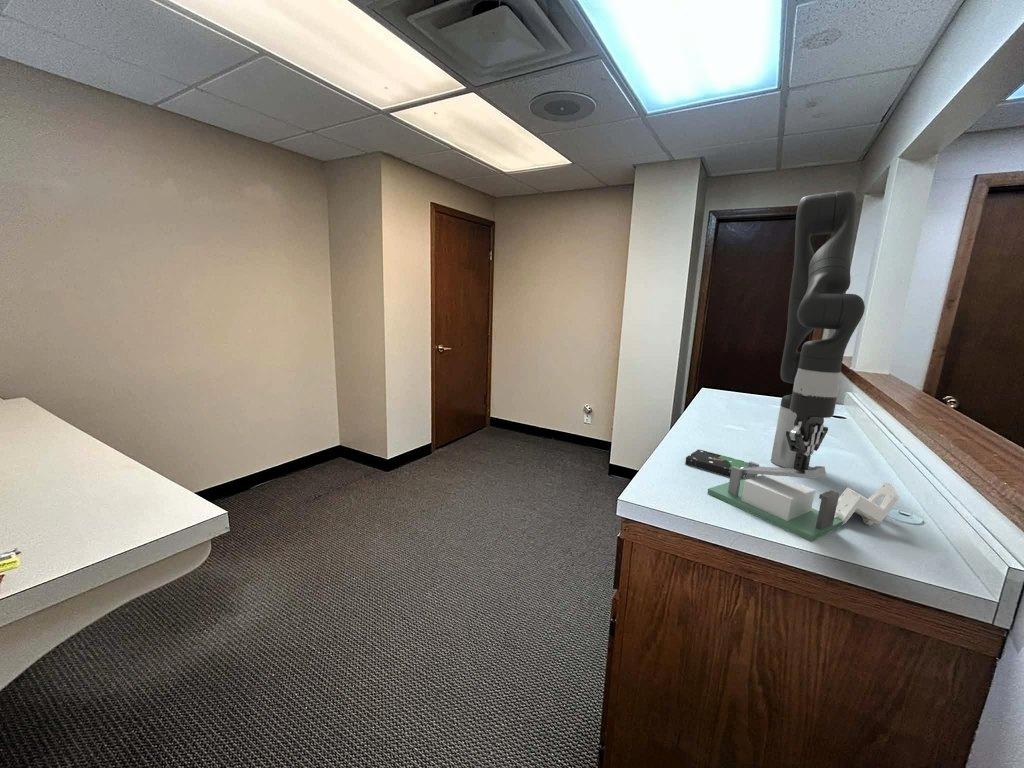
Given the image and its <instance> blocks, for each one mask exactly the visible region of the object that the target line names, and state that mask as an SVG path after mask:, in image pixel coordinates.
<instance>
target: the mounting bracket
mask: <svg viewBox="0 0 1024 768" xmlns="http://www.w3.org/2000/svg"><path fill="white" fill-rule="evenodd" d="M882 498H883V500H882V502H881V503H880V504H879V505H878V504H877V503H878V501H880V500H881V499H882ZM899 499H900V495H899V494H898V492H897V491H896V489H895V488H894V486H893V485H892V483H890V482H888V481H886V482H884V483H883V484H882V485H881V486H880V487H879V488H878V489H876V491H875V492H874V493H873V494H872V495H871V496H870V497H869V498H867V497H865V496H863V495H861V494H860V493H858V492H856V491H855V490H853V489H851V488H850V487H847V488H845V489H844V491H843V492H842V493H841V495H839V498H838V503H837V507H836V512H835V516H834V517H835V518H838V519H840V520H842V521H843V524H842V525H844V524H845V523H847V522H848V521H849V520H850V518H851V517H852V516H853V514H854V513H856V514H857V515H859V516H860V517H862V520H863V523H864V524H866V525H867V526H870V527H871V526H873V524H875V523H876V524H877V525H878V524H881V522H883V520H884V519H885V517H887V515H888V514H889V512H890V511H891V510H892V508H893V507H894V506H895V505H896V503H898V501H899Z"/></svg>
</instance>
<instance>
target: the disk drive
mask: <svg viewBox="0 0 1024 768" xmlns="http://www.w3.org/2000/svg"><path fill="white" fill-rule="evenodd" d="M684 464H685V465H688V466H690V467H693V468H697V469H699V470H700V469H701V470H704V471H708V472H710V471H711V473H714V474H718V475H722V476H724V477H728V478H730V475H731V469H732V467H733V466H735V467H738V468H741V467H745V466H748V464H749V461H748V462H747V461H744V460H742V459H736V458H733V457H730V456H729V457H728V456H725V455H722V454H718V453H715V452H712V451H707V450H703V449H697V450H695V451H694V452H692V453H691V454H690V455H687V456H686V457H685V461H684ZM746 476H747V473H742V475H741V480H743V478H744V477H746Z"/></svg>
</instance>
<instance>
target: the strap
mask: <svg viewBox="0 0 1024 768" xmlns="http://www.w3.org/2000/svg"><path fill="white" fill-rule="evenodd" d="M741 469H742V473H748V474H758V475H775V476H779V477H790V478H804V479H817V478H820V477H823V476H825V475H826V474H827V472H826V466H821V465H816V466H813V467H810V468H809V467H808V469H806V470H805V472H800V471H797V470H795V469H794V468H785V467H772V466H760V465H759V466H752V465H748V466H745V467H741Z"/></svg>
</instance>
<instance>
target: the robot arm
mask: <svg viewBox="0 0 1024 768" xmlns="http://www.w3.org/2000/svg"><path fill="white" fill-rule="evenodd" d="M856 212H857V197H856V195H855V193H854V192H853V191H851V190H839V191H830V192H823V193H814V194H811V195H805V196H803V197H802V198H801V199H800V200H799V203H798V205H797V210H796V218H795V236H794V257H793V258H794V259H793V260H794V261H793V269H792V277H791V284H790V290H789V301H788V310H787V311H788V312H787V326H786V327H787V328H786V329H787V330H786V336H785V342H784V347H783V348H784V349H783V354H782V358H781V364H780V379H781V380H782V381H783V382H784V383H787V384H793V388H792V392H791V394H787V395H783V396H782V397H781V400H780V406H779V410H778V411H779V412H778V415H777V416H778V417H777V423H776V429H775V435H774V440H773V446H772V451H771V455H770V456H771V457H770V461H771V462H772V463H773V464H775V465H777V466H779V467H781V468H794V469H795V470H797V471H800V472H805V470H806V469H809V467H810V461H811V457H812V455H814V453H815V451H816V452H817V451H818V450H819V448H820V447H821V444H822V443H823V440H824V439H825V437H826V435H827V433H828V431H829V427H827V426H824V422H825V419H828V418H832V417H834V415H835V409H836V404H837V399H838V394H839V390H840V388H839V387H840V382H841V381H840V380H841V371H842V366H843V365H842V364H843V361H844V360H843V359H844V357H845V355H844V354H845V352H846V349H847V346H848V343H849V341H850V340H851V337H852V336H853V334H854V332H855V330H857V327H858V325H859V324H860V323H861V320H862V318H863V316H864V314H865V309H866V306H865V302H864V300H863V298H862V297H861V296H860V295H859V294H856V293H846V292H847V291H848V290H849V288H850V286H851V282H852V281H851V278H852V277H851V262H850V261H851V259H850V256H851V250H852V249H851V248H852V243H853V238H854V232H855V223H856ZM830 234H833V235H832V236H831V237H830V238H829V239H828V240H827V241H826V242H825V243H823V244H822V245H821V247H819V248H818V249H817V250H816V252H814V248H813V246H812V244H811V237H812V236H820V235H821V236H822V235H830ZM815 329H820V330H821V329H822V330H824V329H825V330H835V331H834V333H833V334H832V335H831V336H830V337H827V338H823V339H814V340H809V341H805V342H804V343H803V341H804V340H805V339H806V338H807V336H808V335H809V334H810V333H811V332H812V331H813V330H815ZM802 343H803V344H802ZM801 344H802V347H801V351H798V350H799V349H798V348H799V347H800V345H801Z"/></svg>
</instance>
